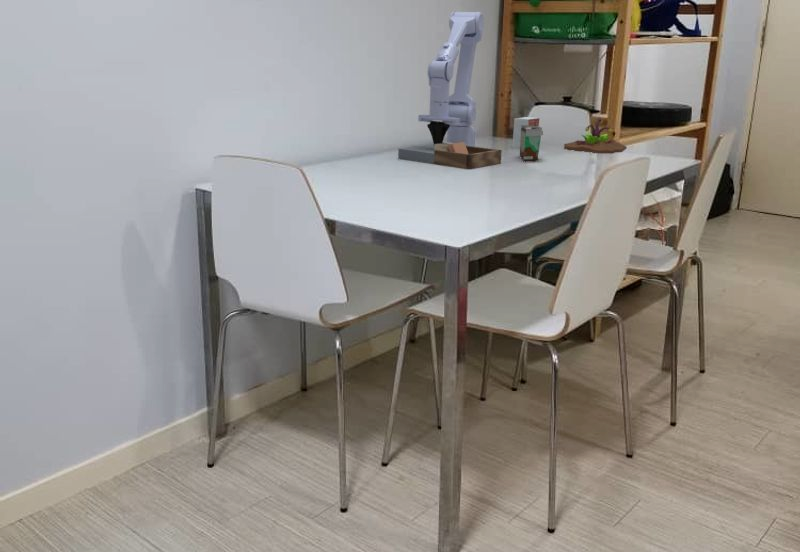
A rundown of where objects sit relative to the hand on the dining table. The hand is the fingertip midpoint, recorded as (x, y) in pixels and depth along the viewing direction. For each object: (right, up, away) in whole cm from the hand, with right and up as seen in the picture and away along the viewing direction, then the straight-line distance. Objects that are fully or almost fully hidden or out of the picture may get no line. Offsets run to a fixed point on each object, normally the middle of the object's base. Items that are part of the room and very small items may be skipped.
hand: (437, 147), depth 243 cm
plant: (+55, +3, +28) cm, 62 cm away
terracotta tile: (+5, -2, -4) cm, 7 cm away
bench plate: (-2, -3, +2) cm, 4 cm away
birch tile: (+3, -1, -2) cm, 4 cm away
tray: (+9, -6, -6) cm, 12 cm away
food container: (+29, -3, +5) cm, 30 cm away
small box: (+31, +4, +29) cm, 42 cm away
